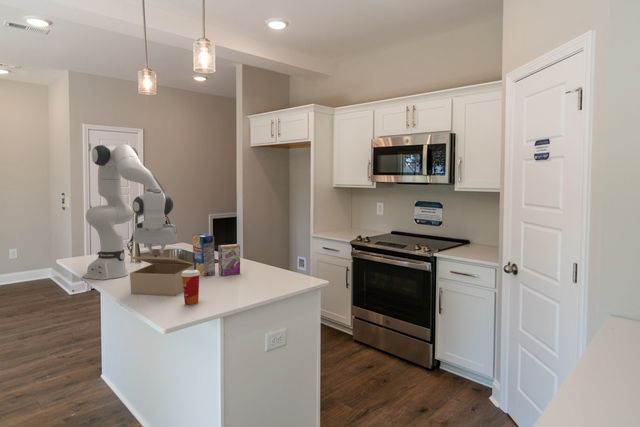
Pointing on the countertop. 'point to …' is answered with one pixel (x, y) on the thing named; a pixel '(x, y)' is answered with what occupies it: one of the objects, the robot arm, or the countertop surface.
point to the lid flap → (161, 259)
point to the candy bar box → (229, 259)
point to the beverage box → (204, 254)
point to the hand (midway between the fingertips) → (156, 253)
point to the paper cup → (191, 286)
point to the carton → (158, 279)
